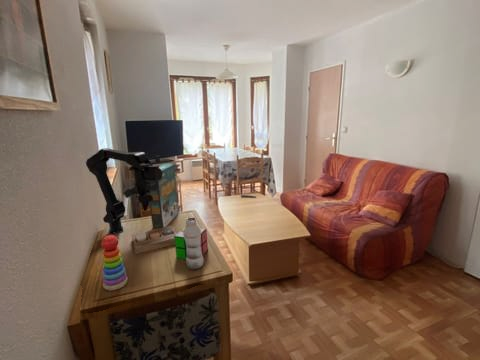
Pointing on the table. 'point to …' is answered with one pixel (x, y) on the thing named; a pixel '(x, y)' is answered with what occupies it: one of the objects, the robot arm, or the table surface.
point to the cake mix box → (164, 197)
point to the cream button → (141, 236)
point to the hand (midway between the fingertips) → (145, 210)
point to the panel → (154, 240)
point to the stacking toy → (113, 265)
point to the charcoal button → (167, 232)
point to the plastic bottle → (193, 244)
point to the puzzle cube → (181, 244)
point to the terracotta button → (154, 235)
